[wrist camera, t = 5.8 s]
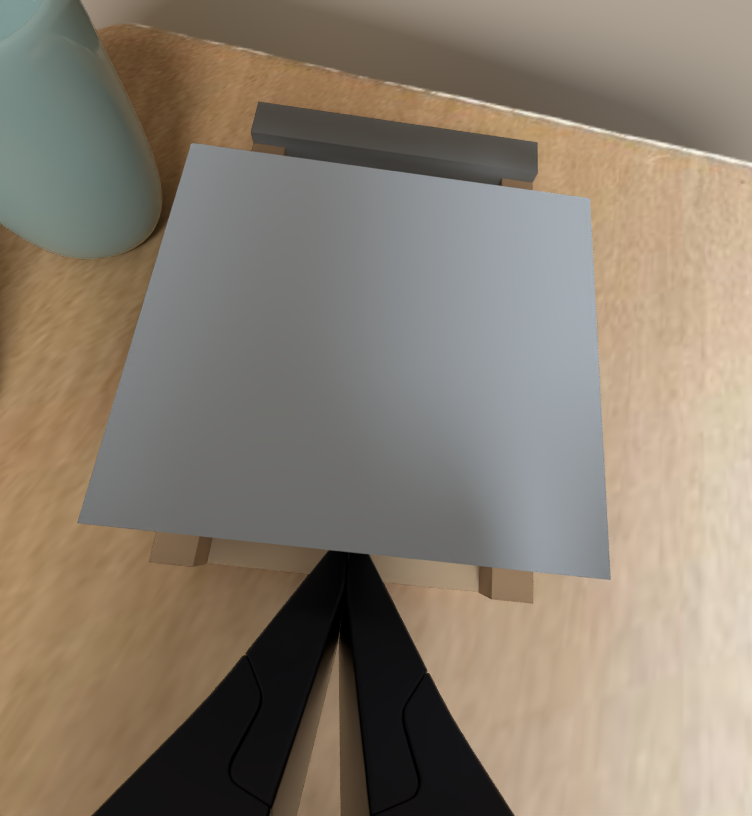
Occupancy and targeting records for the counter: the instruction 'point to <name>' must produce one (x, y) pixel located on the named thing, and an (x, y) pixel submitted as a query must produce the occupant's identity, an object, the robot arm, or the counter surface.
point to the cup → (70, 137)
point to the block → (364, 369)
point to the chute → (395, 152)
